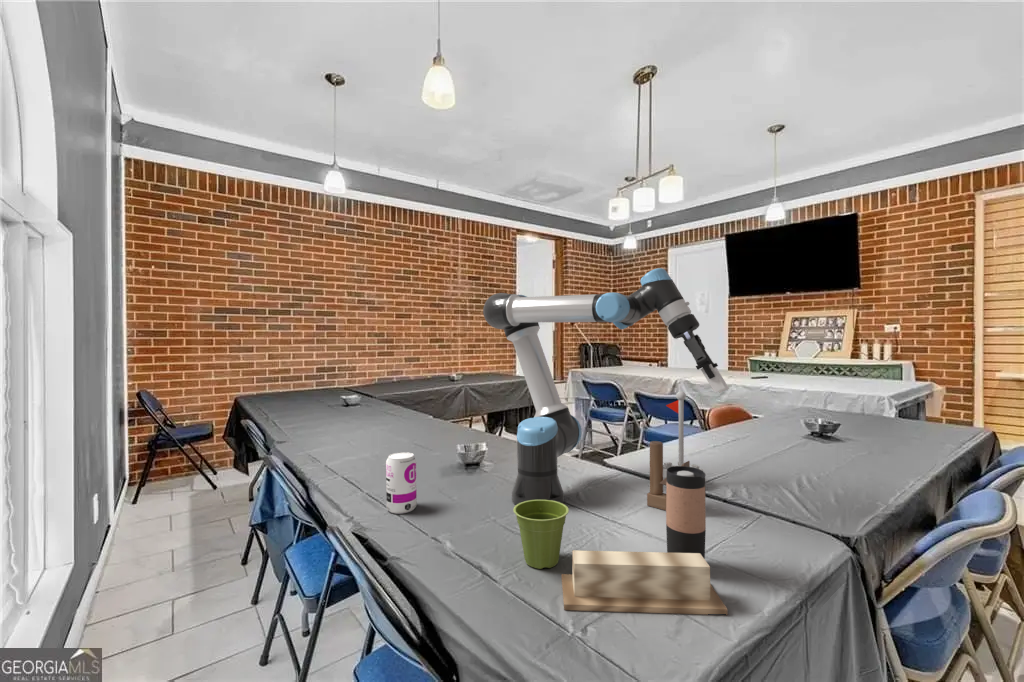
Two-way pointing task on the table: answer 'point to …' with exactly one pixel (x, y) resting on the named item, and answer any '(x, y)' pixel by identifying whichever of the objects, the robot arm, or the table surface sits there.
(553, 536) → the plant pot
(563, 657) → the table surface
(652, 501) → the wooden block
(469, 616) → the table surface
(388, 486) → the supplement can
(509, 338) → the robot arm
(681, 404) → the flag stand
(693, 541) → the travel mug
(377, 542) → the table surface
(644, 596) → the ridge
